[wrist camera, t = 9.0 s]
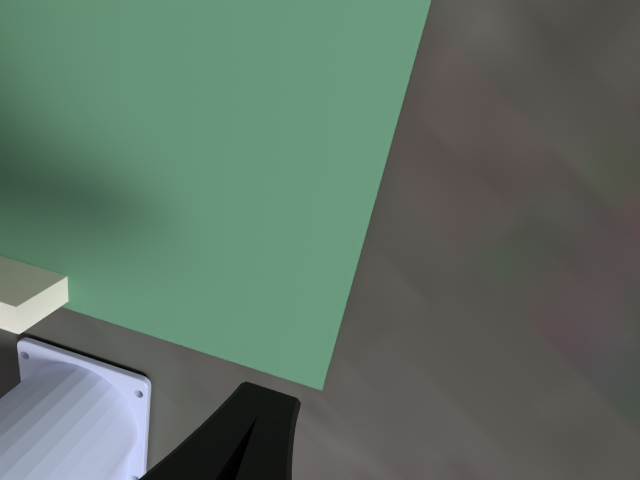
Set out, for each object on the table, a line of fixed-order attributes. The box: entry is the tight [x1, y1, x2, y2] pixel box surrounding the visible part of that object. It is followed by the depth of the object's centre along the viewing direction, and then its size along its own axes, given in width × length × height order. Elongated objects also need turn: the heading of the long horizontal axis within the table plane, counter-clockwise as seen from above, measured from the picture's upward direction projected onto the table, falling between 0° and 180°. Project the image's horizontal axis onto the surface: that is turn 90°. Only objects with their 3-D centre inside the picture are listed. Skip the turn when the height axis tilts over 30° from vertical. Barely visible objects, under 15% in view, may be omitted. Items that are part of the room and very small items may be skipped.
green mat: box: [0, 0, 431, 390], centre depth 17 cm, size 24×26×1 cm
